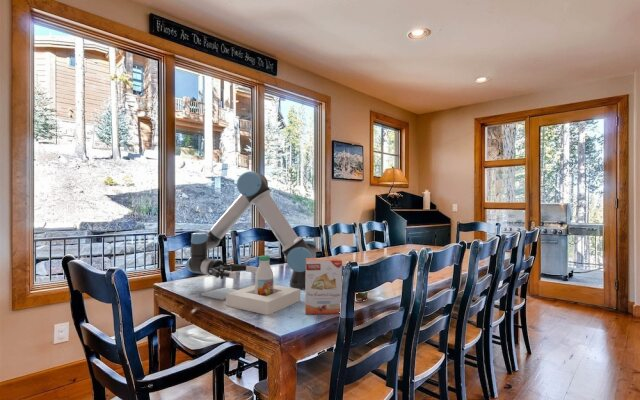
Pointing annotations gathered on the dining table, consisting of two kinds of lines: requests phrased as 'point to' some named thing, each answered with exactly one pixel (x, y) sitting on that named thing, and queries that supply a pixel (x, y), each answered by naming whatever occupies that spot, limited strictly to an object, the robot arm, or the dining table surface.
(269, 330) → the dining table surface
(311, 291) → the cracker box
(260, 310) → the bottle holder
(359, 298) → the food container
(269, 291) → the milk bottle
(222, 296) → the mat
